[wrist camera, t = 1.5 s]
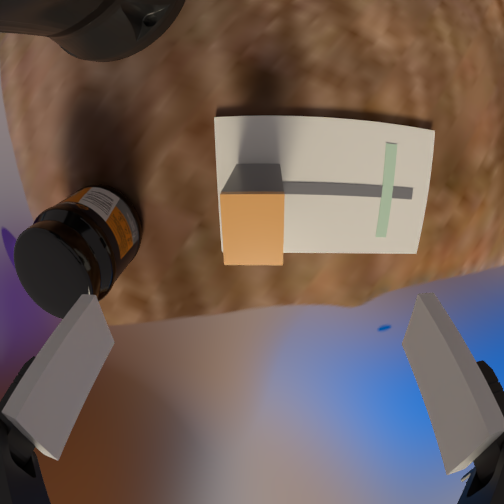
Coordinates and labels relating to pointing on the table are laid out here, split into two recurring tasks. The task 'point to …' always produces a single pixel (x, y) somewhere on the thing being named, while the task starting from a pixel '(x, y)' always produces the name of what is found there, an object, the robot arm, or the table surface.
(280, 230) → the lever
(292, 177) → the fader console
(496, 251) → the table surface
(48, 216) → the supplement container
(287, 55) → the table surface
